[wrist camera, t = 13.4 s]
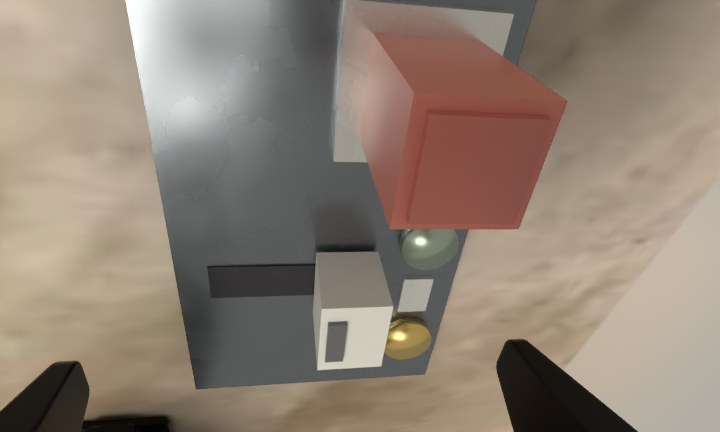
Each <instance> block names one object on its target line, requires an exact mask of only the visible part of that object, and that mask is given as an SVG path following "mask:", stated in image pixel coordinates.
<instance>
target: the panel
mask: <svg viewBox="0 0 720 432" xmlns="http://www.w3.org/2000/svg"><path fill="white" fill-rule="evenodd" d="M125 1H126V6H127V12H128V17H129V23H130V28H131V34H132V39H133V45H134V50H135V56H136V61H137V67H138V72H139V78H140V83H141V89H142V94H143V100H144V105H145V111H146V116H147V122H148V127H149V133H150V138H151V144H152V149H153V155H154V160H155V166H156V171H157V177H158V182H159V188H160V193H161V199H162V204H163V210H164V216H165V221H166V227H167V232H168V238H169V243H170V249H171V254H172V260H173V265H174V271H175V276H176V282H177V287H178V293H179V298H180V304H181V309H182V315H183V320H184V326H185V331H186V337H187V342H188V348H189V353H190V359H191V364H192V370H193V375H194V381H195V386H196V389H207V388H222V387H238V386H253V385H269V384H284V383H299V382H315V381H330V380H346V379H361V378H377V377H392V376H408V375H423V374H425V373H426V369H427V366H428V363H429V359H430V356H431V353H432V349H433V346H434V342H435V339H436V336H437V332H438V329H439V326H440V322H441V319H442V316H443V312H444V309H445V305H446V302H447V299H448V295H449V292H450V289H451V285H452V282H453V279H454V275H455V272H456V268H457V265H458V262H459V258H460V255H461V252H462V248H463V245H464V242H465V238H466V235H467V231H468V229H389V226H388V222H387V219H386V216H385V213H384V210H383V207H382V204H381V201H380V198H379V195H378V192H377V189H376V186H375V183H374V180H373V177H372V174H371V171H370V168H369V165H368V162H367V159H366V156H365V153H364V150H363V147H362V144H361V141H360V133H361V124H362V115H363V107H364V98H365V89H366V80H367V72H368V63H369V54H370V45H371V37H372V32H376V33H388V34H401V35H413V36H426V37H438V38H451V39H463V40H476V41H481V42H483V43H484V44H486V45H487V46H489V47H490V48H492V49H493V50H494V51H496V52H497V53H499V54H500V55H502V56H503V57H504V58H506V59H507V60H509V61H510V62H512V63H513V64H514V65H516V66H517V63H518V60H519V56H520V53H521V50H522V46H523V43H524V40H525V36H526V33H527V30H528V26H529V23H530V19H531V16H532V13H533V9H534V6H535V3H536V0H125ZM316 252H379V256H380V260H381V263H382V267H383V271H384V274H385V278H386V281H387V285H388V289H389V292H390V296H391V299H392V303H393V311H392V316H391V321H390V326H389V331H388V336H387V340H386V345H385V350H384V355H383V360H382V365H381V366H379V367H363V368H346V369H330V370H317V360H316V347H315V334H314V320H313V300H314V282H315V265H316Z"/></svg>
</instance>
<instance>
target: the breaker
mask: <svg viewBox="0 0 720 432" xmlns="http://www.w3.org/2000/svg"><path fill="white" fill-rule="evenodd" d="M392 311H393V303H392V299H391V296H390V292H389V289H388V285H387V281H386V278H385V274H384V271H383V267H382V263H381V260H380V256H379V252H316V265H315V282H314V300H313V320H314V334H315V347H316V360H317V370H330V369H346V368H363V367H379V366H381V365H382V360H383V355H384V350H385V345H386V340H387V336H388V331H389V326H390V321H391V316H392Z"/></svg>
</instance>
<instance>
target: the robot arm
mask: <svg viewBox="0 0 720 432" xmlns="http://www.w3.org/2000/svg"><path fill="white" fill-rule="evenodd" d="M496 369H497V374H498V378H499V381H500V385H501V388H502V392H503V395H504V399H505V402H506V406H507V410H508V413H509V417H510V420H511V424H512V427H513V430H514V432H638V431H637V430H635V429H634V428H633V427H632V426H630V425H629V424H628V423H627V422H625V421H624V420H623V419H622V418H621V417H619V416H618V415H617V414H616V413H615V412H613V411H612V410H611V409H610V408H608V407H607V406H606V405H605V404H604V403H602V402H601V401H600V400H599V399H598V398H596V397H595V396H594V395H593V394H591V393H590V392H589V391H588V390H586V389H585V388H584V387H583V386H582V385H580V384H579V383H578V382H577V381H576V380H574V379H573V378H572V377H571V376H569V375H568V374H567V373H566V372H565V371H563V370H562V369H561V368H560V367H558V366H557V365H556V364H555V363H554V362H552V361H551V360H550V359H549V358H547V357H546V356H545V355H544V354H543V353H541V352H540V351H539V350H538V349H536V348H535V347H534V346H533V345H532V344H530V343H529V342H528V341H526V340H524V339H510V340H508V341H506V342H505V344H504V347H503V349H502V351H501V354H500V356H499V358H498V360H497V365H496ZM88 399H89V385H88V382H87V379H86V377H85V374H84V371H83V368H82V365H81V364H80V363H79V362H78V361H59V362H55V363H53V364H52V365H50V366H49V367H48V368H47V369H46V370H45V371H44V372H43V373H42V374H40V375H39V376H38V377H37V378H36V379H35V380H34V381H33V382H32V383H31V384H29V385H28V386H27V387H26V388H25V389H24V390H23V391H22V392H21V393H20V394H18V395H17V396H16V397H15V398H14V399H13V400H12V401H11V402H10V403H9V404H8V405H6V406H5V407H4V408H3V409H2V410H1V411H0V432H173V430H172V426H171V422H170V420H169V419H167V418H149V419H136V420H122V421H109V422H96V423H83V420H84V415H85V411H86V407H87V403H88Z"/></svg>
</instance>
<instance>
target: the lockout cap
mask: <svg viewBox="0 0 720 432" xmlns="http://www.w3.org/2000/svg"><path fill="white" fill-rule="evenodd" d="M566 103H567V101H566V100H565V99H563V98H562V97H560V96H559V95H558V94H556V93H555V92H553V91H552V90H550V89H549V88H548V87H546V86H545V85H543V84H542V83H540V82H539V81H537V80H536V79H535V78H533V77H532V76H530V75H529V74H527V73H526V72H525V71H523V70H522V69H520V68H519V67H517V66H516V65H514V64H513V63H512V62H510V61H509V60H507V59H506V58H504V57H503V56H502V55H500V54H499V53H497V52H496V51H494V50H493V49H492V48H490V47H489V46H487V45H486V44H484V43H483V42H481V41H476V40H463V39H451V38H438V37H426V36H413V35H401V34H388V33H376V32H372V37H371V45H370V54H369V63H368V72H367V80H366V89H365V98H364V107H363V115H362V124H361V133H360V141H361V144H362V147H363V150H364V153H365V156H366V159H367V162H368V165H369V168H370V171H371V174H372V177H373V180H374V183H375V186H376V189H377V192H378V195H379V198H380V201H381V204H382V207H383V210H384V213H385V216H386V219H387V222H388V226H389V229H519V226H520V224H521V221H522V218H523V216H524V213H525V211H526V208H527V205H528V203H529V200H530V198H531V195H532V192H533V190H534V187H535V184H536V182H537V179H538V177H539V174H540V171H541V169H542V166H543V164H544V161H545V158H546V156H547V153H548V150H549V148H550V145H551V143H552V140H553V137H554V135H555V132H556V130H557V127H558V124H559V122H560V119H561V116H562V114H563V111H564V109H565V106H566Z"/></svg>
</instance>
